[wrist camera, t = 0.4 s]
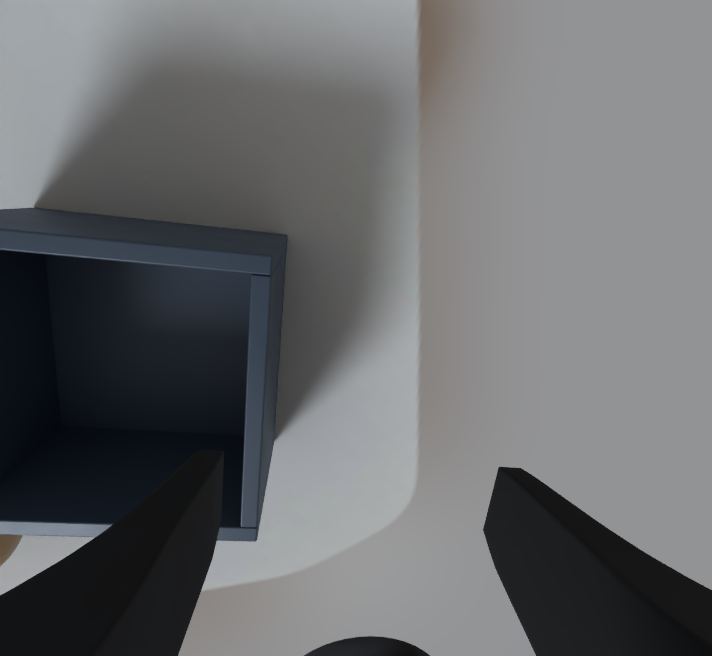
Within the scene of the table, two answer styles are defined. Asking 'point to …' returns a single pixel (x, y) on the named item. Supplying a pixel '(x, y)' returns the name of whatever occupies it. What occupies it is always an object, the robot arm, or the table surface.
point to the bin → (133, 365)
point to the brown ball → (8, 546)
